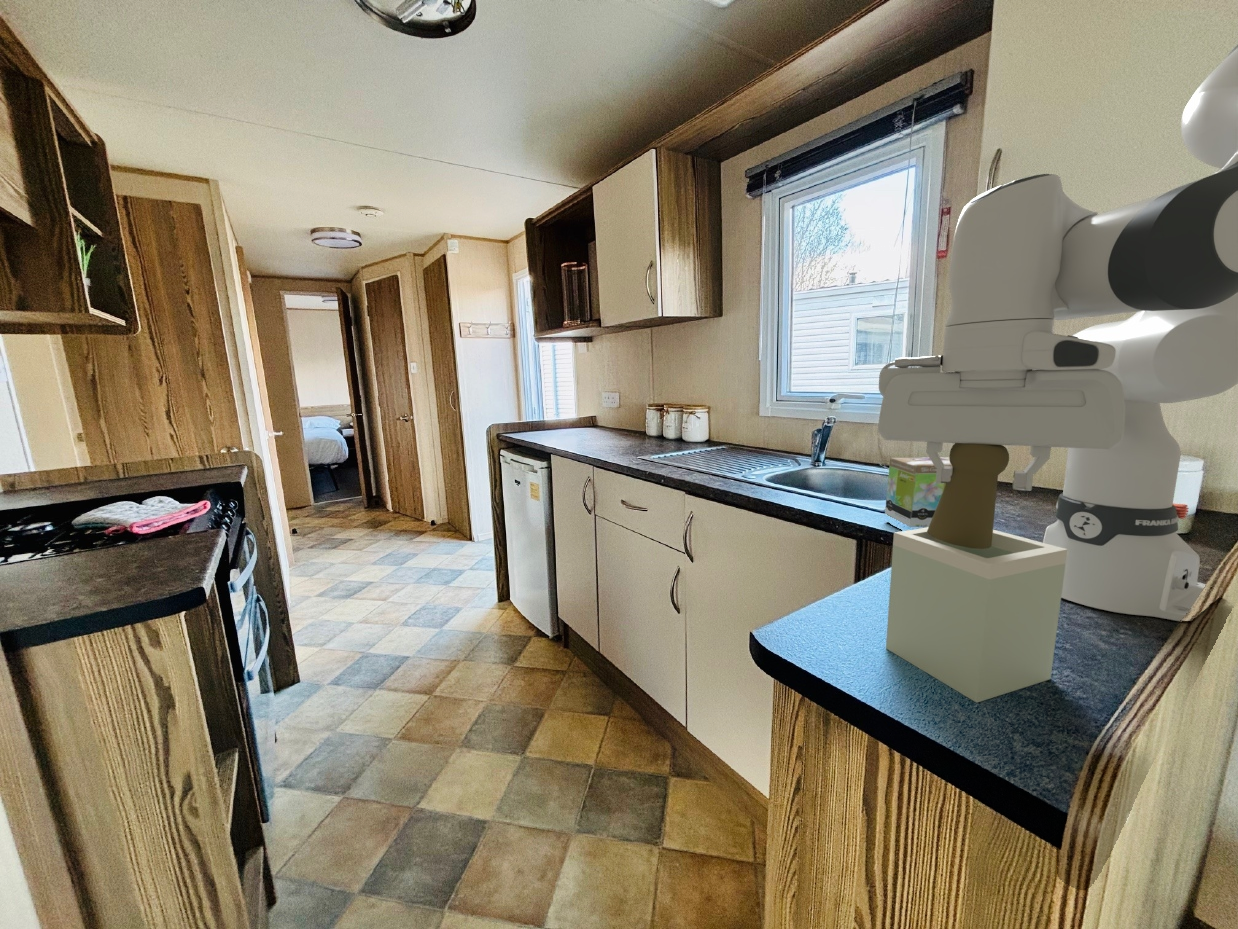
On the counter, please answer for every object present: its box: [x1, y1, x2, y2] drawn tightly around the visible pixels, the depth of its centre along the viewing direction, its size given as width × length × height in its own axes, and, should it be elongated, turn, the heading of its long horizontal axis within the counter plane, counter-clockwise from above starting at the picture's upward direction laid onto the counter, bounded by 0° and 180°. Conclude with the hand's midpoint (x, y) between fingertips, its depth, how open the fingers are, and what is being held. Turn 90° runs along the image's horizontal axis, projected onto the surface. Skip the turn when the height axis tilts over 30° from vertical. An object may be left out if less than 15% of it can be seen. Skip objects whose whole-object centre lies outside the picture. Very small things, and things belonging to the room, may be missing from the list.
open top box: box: [885, 527, 1068, 704], centre depth 56 cm, size 11×11×14 cm
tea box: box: [884, 456, 952, 528], centre depth 105 cm, size 15×10×15 cm
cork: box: [927, 443, 1010, 549], centre depth 54 cm, size 6×6×11 cm
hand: (981, 486), depth 53 cm, fingers open, 5 cm apart
